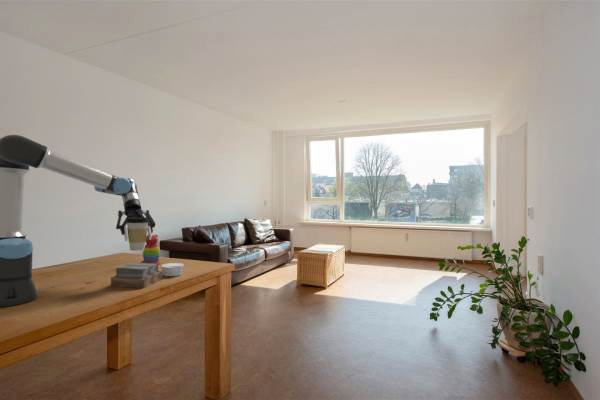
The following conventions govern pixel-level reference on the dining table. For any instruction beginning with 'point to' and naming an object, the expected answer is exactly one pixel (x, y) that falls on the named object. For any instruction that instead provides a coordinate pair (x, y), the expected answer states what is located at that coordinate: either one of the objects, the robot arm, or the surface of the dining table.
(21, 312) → the dining table surface
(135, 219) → the coffee cup
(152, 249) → the stacking bear
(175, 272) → the ramekin
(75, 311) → the dining table surface
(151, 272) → the grey stacked platform
